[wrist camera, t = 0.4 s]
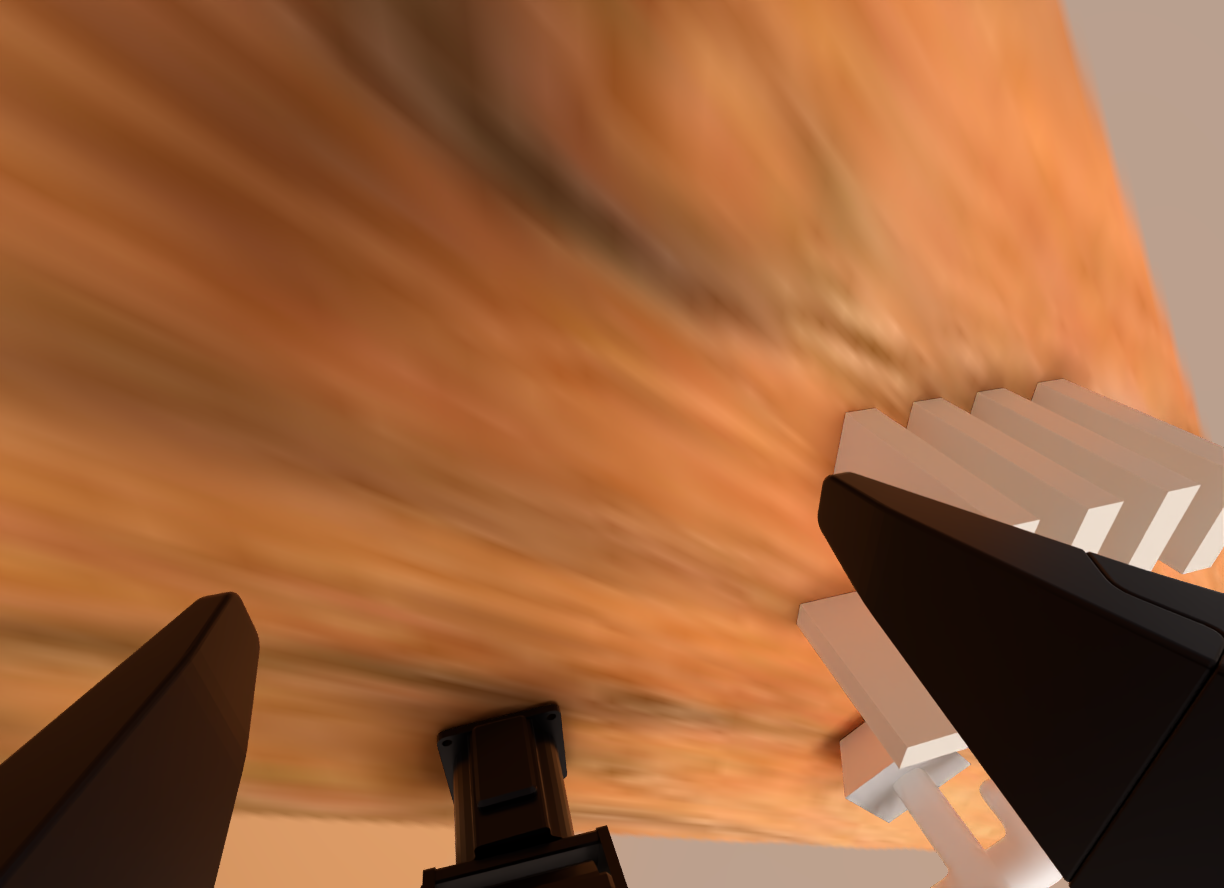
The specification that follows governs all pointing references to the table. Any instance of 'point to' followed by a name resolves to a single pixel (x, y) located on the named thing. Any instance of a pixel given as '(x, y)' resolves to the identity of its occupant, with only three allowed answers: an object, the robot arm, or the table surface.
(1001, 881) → the figurine
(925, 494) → the domino
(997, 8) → the table surface
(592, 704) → the table surface
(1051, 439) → the domino
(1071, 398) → the domino
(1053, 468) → the domino
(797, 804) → the table surface
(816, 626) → the domino
